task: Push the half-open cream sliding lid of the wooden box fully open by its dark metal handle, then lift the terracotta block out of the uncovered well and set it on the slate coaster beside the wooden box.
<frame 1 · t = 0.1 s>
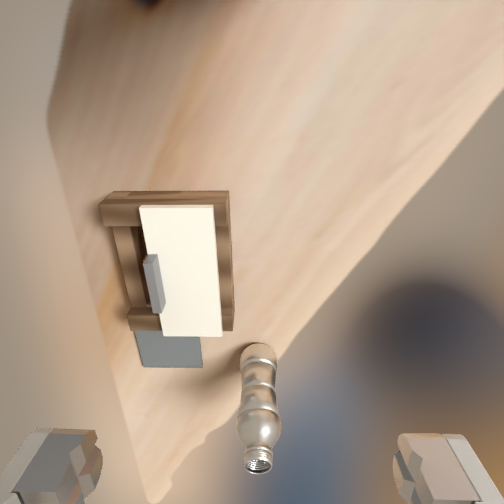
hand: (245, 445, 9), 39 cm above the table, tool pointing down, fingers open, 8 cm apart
wooden box: (180, 256, 51), on the table
lid: (184, 282, 45), point 7 cm above the table, slide at 4.0 cm
plastic bottle: (258, 350, 61), on the table
coaster: (169, 342, 60), on the table
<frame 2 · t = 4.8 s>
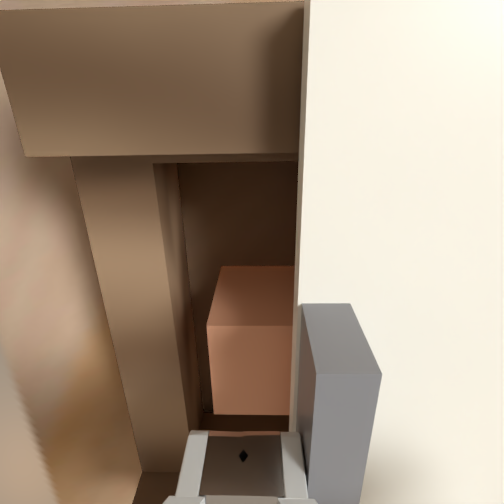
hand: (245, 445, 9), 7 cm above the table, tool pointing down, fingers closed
wooden box: (308, 304, 16), on the table
lid: (459, 440, 9), point 7 cm above the table, slide at 5.2 cm, touching gripper
block: (265, 303, 16), resting in wooden box
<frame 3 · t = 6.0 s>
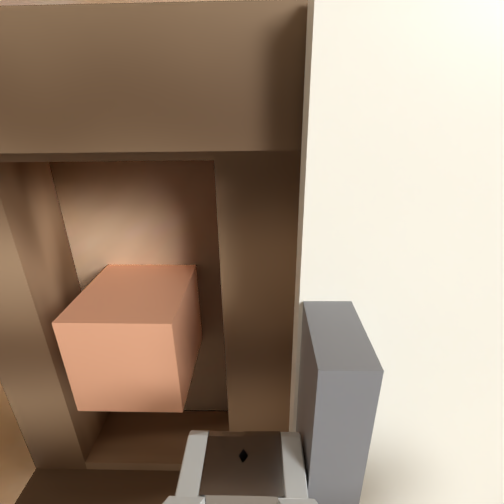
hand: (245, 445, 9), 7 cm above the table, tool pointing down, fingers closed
wooden box: (199, 303, 16), on the table
lid: (459, 439, 9), point 7 cm above the table, slide at 10.4 cm, touching gripper
block: (157, 302, 16), resting in wooden box
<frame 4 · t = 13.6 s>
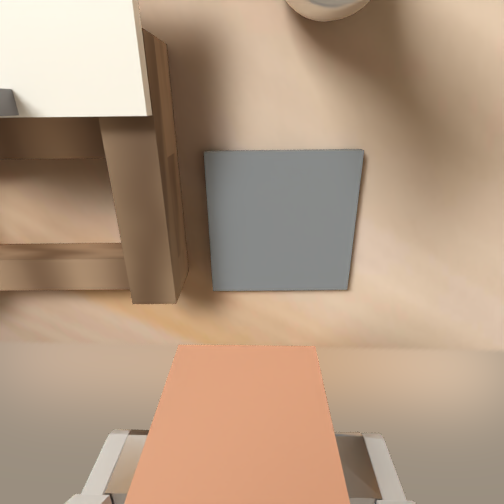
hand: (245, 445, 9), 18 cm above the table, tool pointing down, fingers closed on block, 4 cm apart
wooden box: (35, 174, 24), on the table
block: (247, 396, 11), point 17 cm above the table, touching gripper
coaster: (280, 223, 26), on the table
when the fingers open (4 cm above the table, at t = 16.8 s): block drops 1 cm, resting on coaster.
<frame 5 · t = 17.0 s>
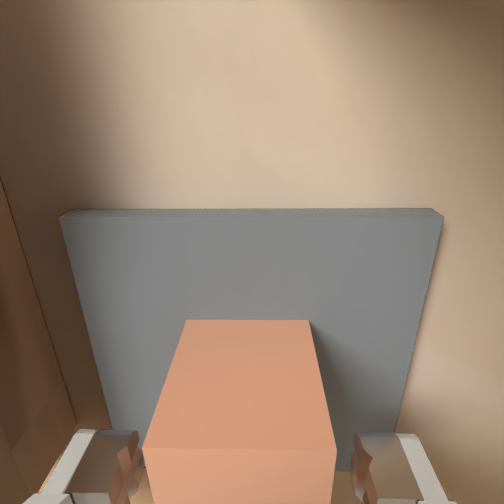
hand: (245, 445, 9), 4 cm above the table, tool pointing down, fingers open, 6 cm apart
block: (248, 367, 12), point 1 cm above the table, touching coaster
coaster: (251, 351, 12), on the table
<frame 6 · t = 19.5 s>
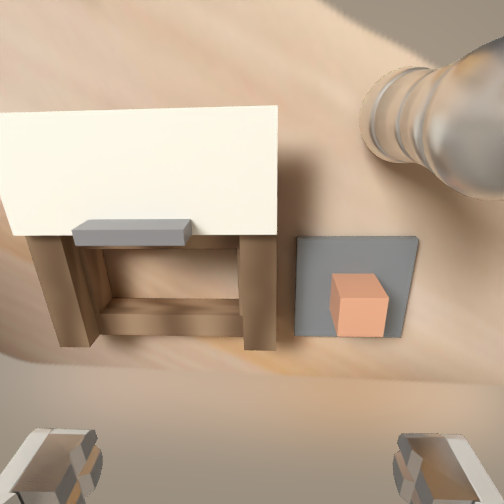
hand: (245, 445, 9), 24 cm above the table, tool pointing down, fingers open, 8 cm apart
wooden box: (170, 251, 33), on the table
lid: (128, 178, 24), point 7 cm above the table, slide at 10.5 cm
block: (351, 291, 33), point 1 cm above the table, touching coaster
plastic bottle: (392, 115, 28), on the table
coaster: (350, 287, 34), on the table
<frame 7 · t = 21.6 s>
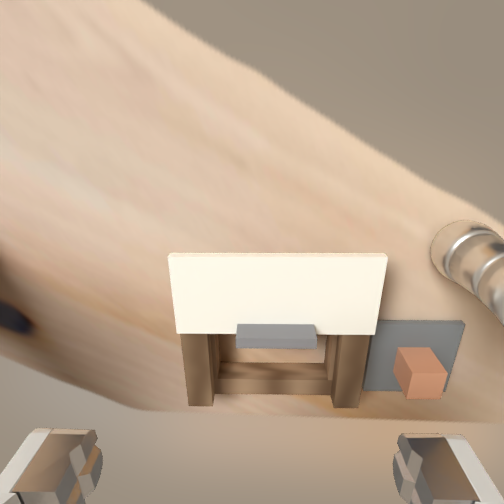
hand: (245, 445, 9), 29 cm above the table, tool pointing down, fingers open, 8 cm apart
wooden box: (272, 329, 43), on the table
lid: (276, 301, 33), point 7 cm above the table, slide at 10.5 cm
block: (410, 359, 43), point 1 cm above the table, touching coaster
plastic bottle: (451, 241, 38), on the table
coaster: (409, 355, 44), on the table
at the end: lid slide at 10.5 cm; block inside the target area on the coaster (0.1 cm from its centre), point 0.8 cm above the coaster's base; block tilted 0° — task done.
